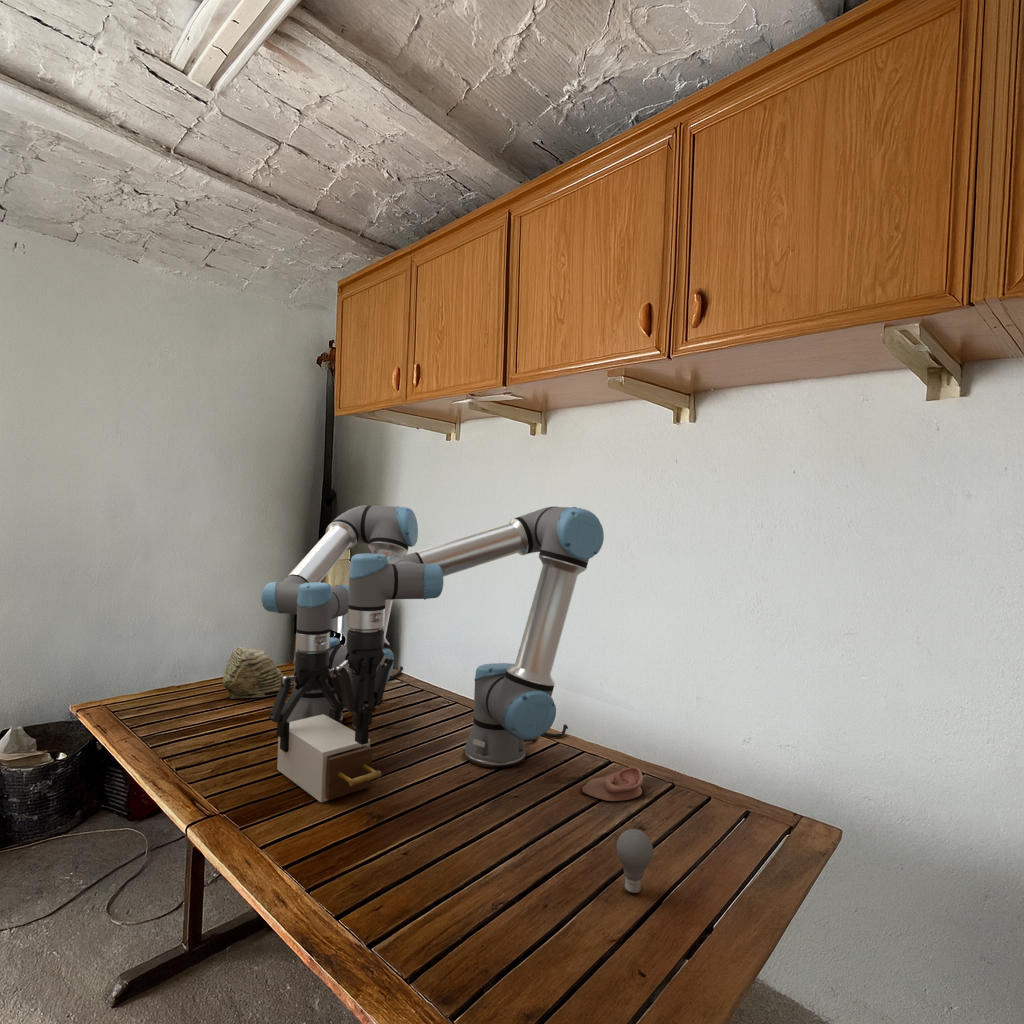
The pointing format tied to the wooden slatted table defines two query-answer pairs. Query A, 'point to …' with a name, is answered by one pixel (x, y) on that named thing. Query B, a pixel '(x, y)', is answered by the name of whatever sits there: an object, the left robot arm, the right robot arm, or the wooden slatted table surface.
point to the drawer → (349, 772)
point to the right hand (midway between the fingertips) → (361, 741)
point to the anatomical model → (616, 785)
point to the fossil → (251, 674)
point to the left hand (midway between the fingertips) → (309, 743)
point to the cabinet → (314, 751)
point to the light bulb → (634, 857)
